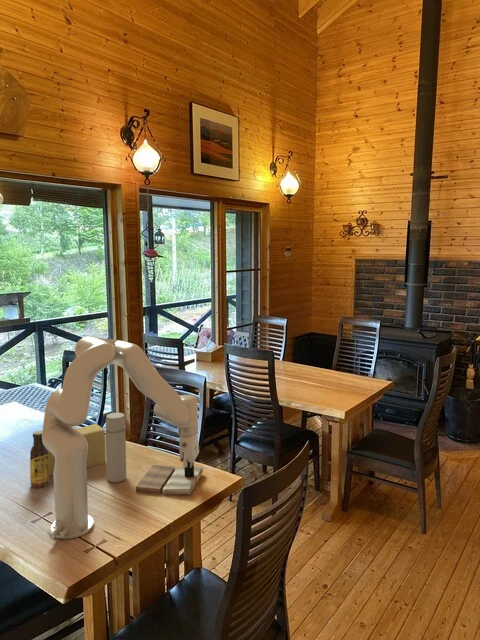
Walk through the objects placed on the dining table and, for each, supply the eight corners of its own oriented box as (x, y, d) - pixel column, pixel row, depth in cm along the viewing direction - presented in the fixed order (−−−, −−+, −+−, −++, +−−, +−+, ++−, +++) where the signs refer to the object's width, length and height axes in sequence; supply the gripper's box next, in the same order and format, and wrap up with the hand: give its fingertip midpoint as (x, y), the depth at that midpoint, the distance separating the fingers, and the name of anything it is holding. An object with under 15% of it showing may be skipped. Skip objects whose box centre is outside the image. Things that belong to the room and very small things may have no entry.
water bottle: (122, 484, 176) (120, 419, 173) (102, 482, 178) (100, 417, 174) (132, 473, 185) (131, 411, 182) (113, 471, 186) (112, 410, 183)
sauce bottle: (35, 490, 171) (32, 437, 169) (27, 484, 175) (24, 433, 173) (52, 484, 176) (50, 432, 173) (44, 478, 180) (42, 428, 178)
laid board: (159, 494, 169) (159, 488, 169) (135, 491, 171) (135, 486, 170) (174, 471, 187) (174, 466, 187) (153, 469, 188) (152, 464, 188)
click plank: (190, 494, 167) (189, 488, 167) (163, 494, 169) (162, 489, 169) (202, 471, 185) (202, 466, 185) (178, 471, 187) (177, 467, 186)
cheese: (51, 480, 179) (49, 442, 177) (43, 471, 187) (41, 434, 185) (107, 464, 193) (105, 428, 191) (97, 456, 201) (95, 422, 199)
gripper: (192, 437, 166) (193, 486, 169) (202, 422, 181) (204, 467, 184) (171, 436, 167) (173, 485, 170) (183, 421, 182) (185, 466, 185)
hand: (189, 476), depth 177 cm, fingers closed
